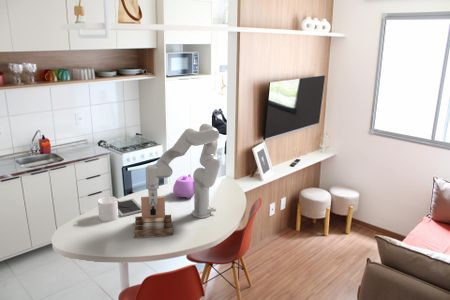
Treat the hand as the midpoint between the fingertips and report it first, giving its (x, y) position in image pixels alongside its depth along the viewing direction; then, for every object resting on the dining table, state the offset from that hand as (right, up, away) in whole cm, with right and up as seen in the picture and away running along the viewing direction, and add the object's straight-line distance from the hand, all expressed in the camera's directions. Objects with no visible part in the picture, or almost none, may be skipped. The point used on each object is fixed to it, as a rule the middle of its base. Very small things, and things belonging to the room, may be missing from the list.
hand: (153, 211), depth 240 cm
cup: (-30, -5, +9) cm, 32 cm away
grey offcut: (+2, -12, -8) cm, 15 cm away
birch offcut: (+1, -10, -3) cm, 10 cm away
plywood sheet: (0, -8, +3) cm, 9 cm away
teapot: (+17, +5, +46) cm, 49 cm away
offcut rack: (+1, -10, -3) cm, 10 cm away
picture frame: (-21, -2, +22) cm, 31 cm away
